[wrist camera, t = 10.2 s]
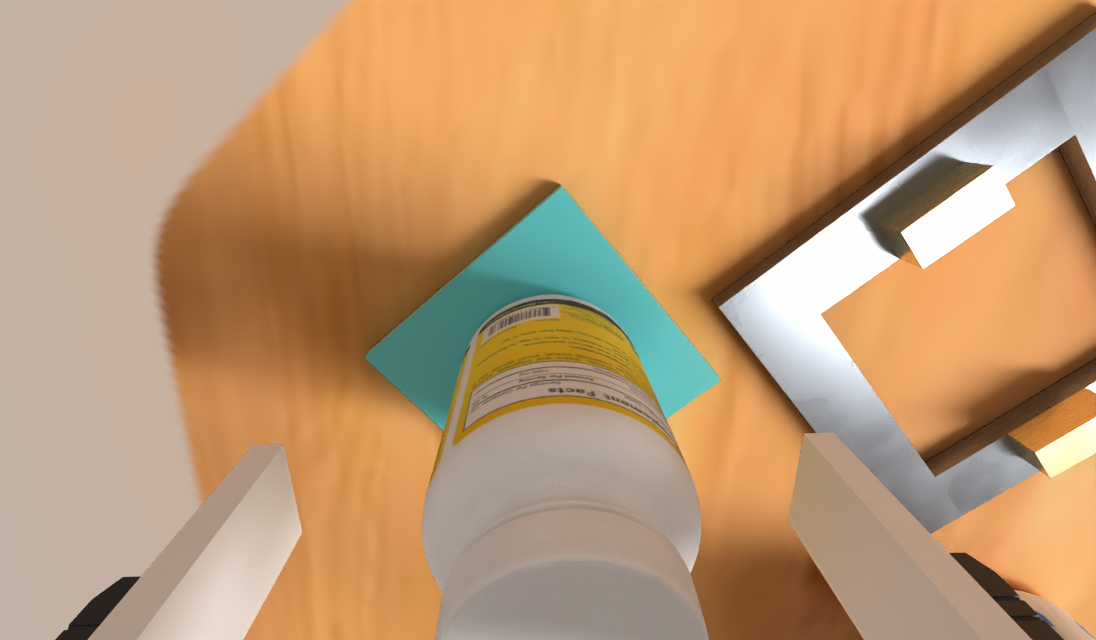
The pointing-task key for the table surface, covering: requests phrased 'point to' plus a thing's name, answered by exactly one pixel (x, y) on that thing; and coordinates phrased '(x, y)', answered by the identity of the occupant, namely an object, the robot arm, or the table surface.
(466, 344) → the coaster
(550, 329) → the pill bottle
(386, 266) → the table surface
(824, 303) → the socket plate
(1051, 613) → the supplement tub
